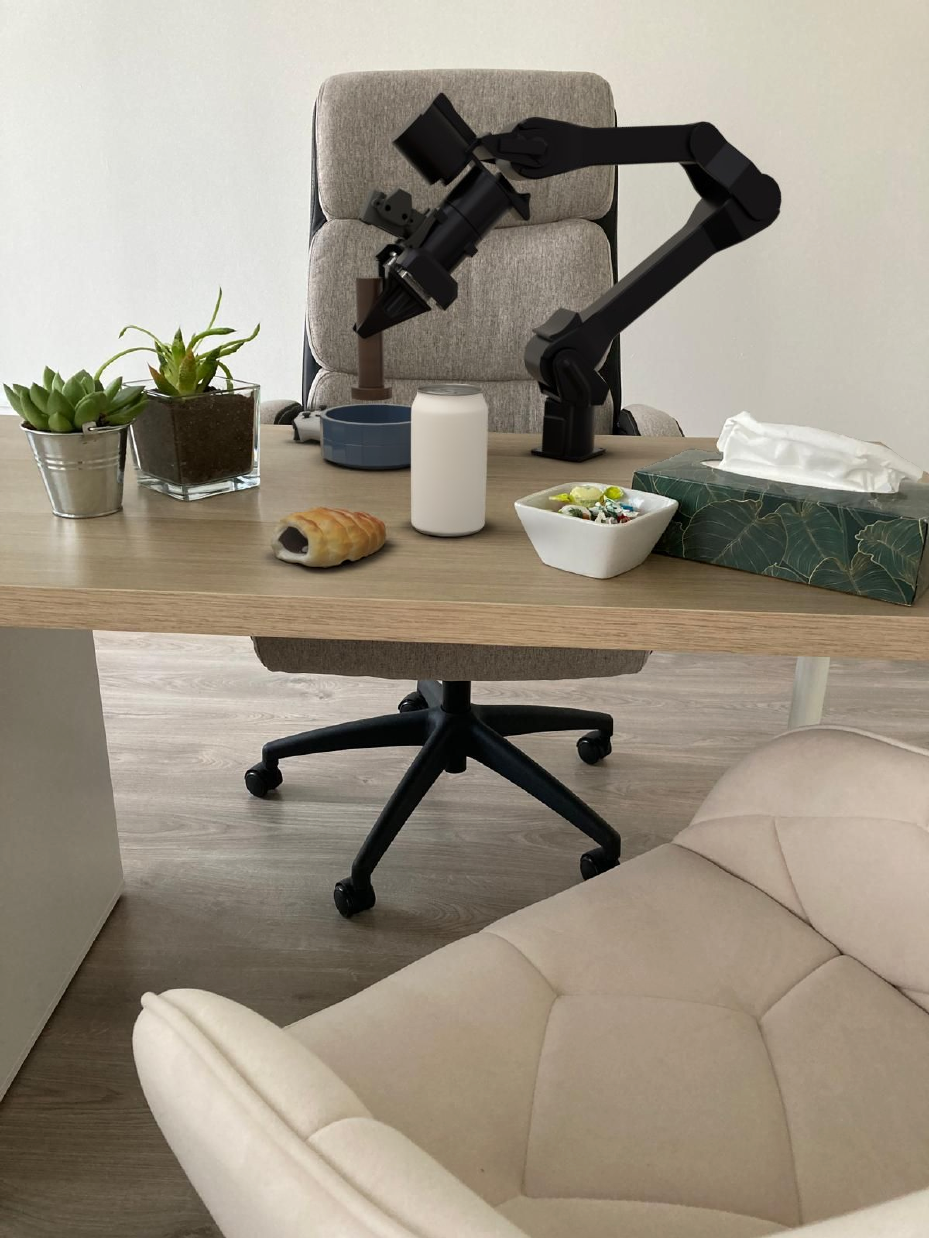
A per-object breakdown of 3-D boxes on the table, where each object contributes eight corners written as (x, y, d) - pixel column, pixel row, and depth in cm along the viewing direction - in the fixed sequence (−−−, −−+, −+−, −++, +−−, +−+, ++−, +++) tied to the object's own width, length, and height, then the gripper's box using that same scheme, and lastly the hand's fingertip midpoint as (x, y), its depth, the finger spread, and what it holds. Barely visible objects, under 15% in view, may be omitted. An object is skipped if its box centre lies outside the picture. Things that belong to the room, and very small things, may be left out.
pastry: (351, 531, 88) (350, 488, 86) (407, 549, 84) (407, 504, 82) (263, 556, 81) (261, 510, 80) (320, 577, 77) (318, 528, 76)
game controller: (349, 439, 118) (311, 401, 117) (317, 470, 120) (279, 433, 118) (358, 422, 127) (323, 387, 126) (329, 452, 129) (293, 418, 127)
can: (477, 540, 86) (480, 396, 82) (402, 534, 87) (401, 392, 83) (491, 520, 92) (495, 384, 88) (421, 515, 93) (421, 381, 89)
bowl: (371, 442, 121) (371, 399, 120) (454, 457, 115) (454, 412, 113) (298, 460, 112) (296, 414, 110) (383, 477, 106) (382, 429, 104)
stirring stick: (387, 393, 112) (385, 275, 108) (396, 400, 108) (394, 278, 104) (347, 394, 111) (344, 276, 107) (354, 401, 107) (351, 279, 103)
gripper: (389, 163, 110) (291, 271, 112) (424, 156, 94) (308, 283, 95) (460, 241, 115) (365, 344, 117) (505, 247, 98) (393, 367, 100)
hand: (357, 334), depth 107 cm, fingers closed on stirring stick, 3 cm apart
